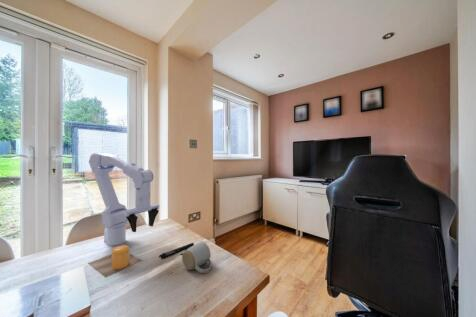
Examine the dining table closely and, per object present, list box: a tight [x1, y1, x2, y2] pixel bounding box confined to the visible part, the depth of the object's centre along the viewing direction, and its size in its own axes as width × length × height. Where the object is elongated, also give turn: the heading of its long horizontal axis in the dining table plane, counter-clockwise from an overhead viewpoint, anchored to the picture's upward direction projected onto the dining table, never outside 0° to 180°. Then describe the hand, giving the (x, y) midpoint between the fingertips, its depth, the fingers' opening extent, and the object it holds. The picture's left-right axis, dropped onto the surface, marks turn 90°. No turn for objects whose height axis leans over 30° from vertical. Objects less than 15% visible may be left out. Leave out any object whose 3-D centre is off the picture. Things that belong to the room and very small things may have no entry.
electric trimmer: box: [158, 242, 195, 260], centre depth 75 cm, size 4×16×3 cm, turn 137°
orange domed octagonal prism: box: [111, 244, 130, 270], centre depth 65 cm, size 5×5×6 cm
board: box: [87, 252, 143, 279], centre depth 67 cm, size 15×12×6 cm
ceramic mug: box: [181, 241, 213, 274], centre depth 67 cm, size 11×8×8 cm
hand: (142, 228), depth 79 cm, fingers open, 7 cm apart
